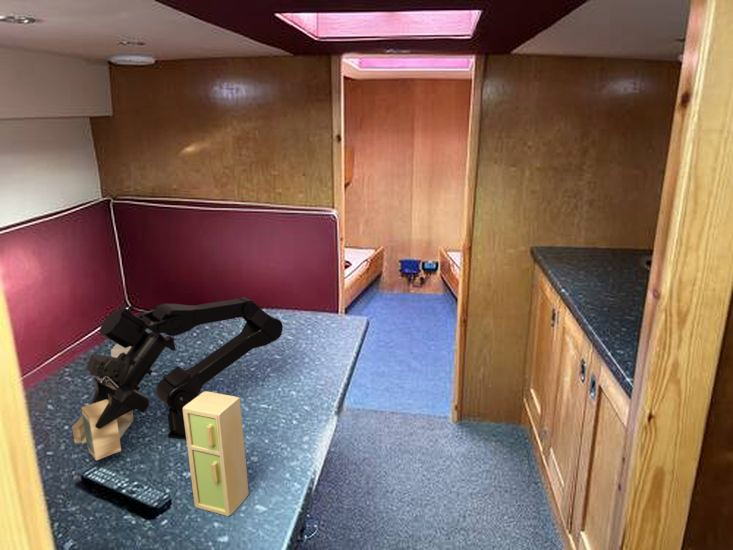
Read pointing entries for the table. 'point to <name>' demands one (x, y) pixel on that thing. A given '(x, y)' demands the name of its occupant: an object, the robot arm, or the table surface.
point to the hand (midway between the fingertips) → (92, 422)
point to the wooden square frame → (122, 423)
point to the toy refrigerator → (216, 452)
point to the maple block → (100, 432)
